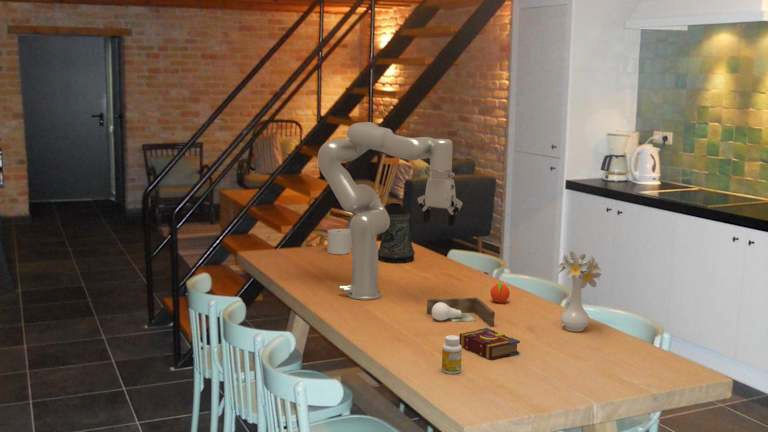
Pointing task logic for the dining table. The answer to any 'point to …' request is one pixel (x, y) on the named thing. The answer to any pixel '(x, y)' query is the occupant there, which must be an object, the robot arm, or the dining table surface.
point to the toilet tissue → (339, 241)
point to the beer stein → (396, 237)
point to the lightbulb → (444, 312)
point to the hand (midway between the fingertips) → (439, 223)
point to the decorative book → (489, 343)
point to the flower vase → (578, 289)
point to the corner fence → (466, 309)
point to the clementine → (500, 293)
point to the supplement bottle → (451, 355)
